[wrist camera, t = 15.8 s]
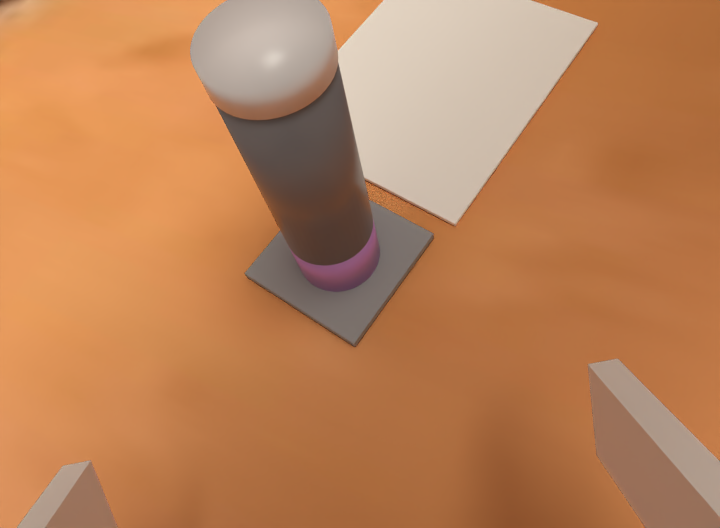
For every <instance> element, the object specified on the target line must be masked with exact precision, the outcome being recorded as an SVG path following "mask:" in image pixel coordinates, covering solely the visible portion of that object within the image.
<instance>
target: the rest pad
mask: <svg viewBox="0 0 720 528" xmlns="http://www.w3.org/2000/svg"><path fill="white" fill-rule="evenodd" d="M369 202H370V206H371V211H372V215H373V220H374V224H375V229H376V233H377V238H378V242H379V248H380V257H379V261H378V265H377V267H376V269H375V271H374V272H373V274H372V275H371V276H370V277H369V278H368V279H367V280H366V281H365V282H363V283H362V284H361V285H359V286H357V287H355V288H353V289H350V290H346V291H340V292H332V291H326V290H322V289H320V288H317V287H316V286H314V285H312V284H311V283H310V282H309V281H308V280H307V279H306V278H305V277H304V275H303V273H302V271H301V269H300V267H299V266H298V264H297V262H296V260H295V258H294V256H293V254H292V252H291V250H290V248H289V246H288V244H287V242H286V240H285V238H284V237H283V235H282V233H281V231H279V233H278V234H277V235H276V236H275V237H274V239H273V240H272V241H271V242H270V244H269V245H268V246H267V247H266V248H265V250H264V251H263V252H262V253H261V254H260V256H259V257H258V258H257V259H256V260H255V262H254V263H253V264H252V265H251V266H250V268H249V269H248V270H247V271H246V272H245V275H246V276H247V278H249V279H251V280H252V281H254V282H255V283H257V284H258V285H260V286H261V287H263V288H264V289H266V290H268V291H269V292H271V293H272V294H274V295H275V296H277V297H278V298H280V299H281V300H283V301H285V302H286V303H288V304H289V305H291V306H292V307H294V308H295V309H297V310H298V311H300V312H302V313H303V314H305V315H306V316H308V317H309V318H311V319H312V320H314V321H315V322H317V323H319V324H320V325H322V326H323V327H325V328H326V329H328V330H329V331H331V332H332V333H334V334H336V335H337V336H339V337H340V338H342V339H343V340H345V341H346V342H348V343H350V344H351V345H353V346H354V347H356V345H357V344H358V343H359V341H360V340H361V338H362V337H363V336H364V334H365V333H366V331H367V330H368V329H369V327H370V326H371V324H372V323H373V322H374V320H375V319H376V318H377V316H378V315H379V313H380V312H381V311H382V309H383V308H384V306H385V305H386V304H387V302H388V301H389V299H390V298H391V297H392V295H393V294H394V293H395V291H396V290H397V288H398V287H399V286H400V284H401V283H402V281H403V280H404V279H405V277H406V276H407V274H408V273H409V272H410V270H411V269H412V267H413V266H414V265H415V263H416V262H417V261H418V259H419V258H420V256H421V255H422V254H423V252H424V251H425V249H426V248H427V247H428V245H429V244H430V242H431V241H432V240H433V238H434V234H433V233H431V232H429V231H428V230H426V229H424V228H422V227H420V226H418V225H416V224H414V223H412V222H411V221H409V220H407V219H405V218H403V217H401V216H399V215H397V214H395V213H393V212H392V211H390V210H388V209H386V208H384V207H382V206H380V205H378V204H376V203H375V202H373V201H371V200H369Z"/></svg>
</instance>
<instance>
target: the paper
mask: <svg viewBox="0 0 720 528" xmlns="http://www.w3.org/2000/svg"><path fill="white" fill-rule="evenodd" d="M597 26H598V23H597V22H594V21H591V20H588V19H585V18H582V17H579V16H576V15H573V14H570V13H567V12H564V11H561V10H558V9H555V8H552V7H549V6H546V5H543V4H540V3H537V2H534V1H531V0H384V1H383V2H382V3H381V4H380V5H379V6H378V7H377V8H376V9H375V10H374V12H373V13H372V14H371V15H370V16H369V17H368V18H367V19H366V20H365V22H364V23H363V24H362V25H361V26H360V27H359V28H358V29H357V30H356V31H355V33H354V34H353V35H352V36H351V37H350V38H349V39H348V40H347V41H346V42H345V44H344V45H343V46H342V47H341V48H340V49H339V50H338V63H339V67H340V72H341V76H342V81H343V85H344V90H345V94H346V99H347V103H348V108H349V112H350V117H351V121H352V126H353V130H354V135H355V139H356V144H357V148H358V153H359V157H360V162H361V166H362V171H363V175H364V180H366V181H368V182H370V183H372V184H374V185H376V186H378V187H380V188H382V189H384V190H386V191H387V192H389V193H391V194H393V195H395V196H397V197H399V198H401V199H403V200H405V201H407V202H409V203H411V204H413V205H415V206H417V207H419V208H421V209H422V210H424V211H426V212H428V213H430V214H432V215H434V216H436V217H438V218H440V219H442V220H444V221H446V222H448V223H450V224H452V225H454V226H456V225H457V223H458V222H459V221H460V219H461V218H462V216H463V215H464V213H465V212H466V211H467V209H468V208H469V206H470V205H471V204H472V202H473V201H474V199H475V198H476V197H477V195H478V194H479V192H480V191H481V190H482V188H483V187H484V185H485V184H486V182H487V181H488V180H489V178H490V177H491V175H492V174H493V173H494V171H495V170H496V168H497V167H498V166H499V164H500V163H501V161H502V160H503V159H504V157H505V156H506V154H507V153H508V151H509V150H510V149H511V147H512V146H513V144H514V143H515V142H516V140H517V139H518V137H519V136H520V135H521V133H522V132H523V130H524V129H525V128H526V126H527V125H528V123H529V122H530V120H531V119H532V118H533V116H534V115H535V113H536V112H537V111H538V109H539V108H540V106H541V105H542V104H543V102H544V101H545V99H546V98H547V97H548V95H549V94H550V92H551V91H552V90H553V88H554V87H555V85H556V84H557V82H558V81H559V80H560V78H561V77H562V75H563V74H564V73H565V71H566V70H567V68H568V67H569V66H570V64H571V63H572V61H573V60H574V59H575V57H576V56H577V54H578V53H579V51H580V50H581V49H582V47H583V46H584V44H585V43H586V42H587V40H588V39H589V37H590V36H591V35H592V33H593V32H594V30H595V29H596V28H597Z"/></svg>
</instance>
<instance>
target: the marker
mask: <svg viewBox="0 0 720 528" xmlns="http://www.w3.org/2000/svg"><path fill="white" fill-rule="evenodd" d="M190 55H191V61H192V64H193V67H194V68H195V70H196V72H197V74H198V76H199V78H200V80H201V82H202V84H203V86H204V88H205V90H206V92H207V93H208V95H209V97H210V99H211V100H212V101H213V103H214V104H215V105H216V107H217V109H218V111H219V113H220V115H221V116H222V118H223V120H224V122H225V124H226V126H227V128H228V130H229V132H230V134H231V136H232V138H233V140H234V142H235V144H236V146H237V147H238V149H239V151H240V153H241V155H242V157H243V159H244V161H245V163H246V165H247V167H248V169H249V171H250V173H251V175H252V176H253V178H254V180H255V182H256V184H257V186H258V188H259V190H260V192H261V194H262V196H263V198H264V200H265V202H266V204H267V206H268V207H269V209H270V211H271V213H272V215H273V217H274V219H275V221H276V223H277V225H278V227H279V229H280V231H281V233H282V235H283V237H284V238H285V240H286V242H287V244H288V246H289V248H290V250H291V252H292V254H293V256H294V258H295V260H296V262H297V264H298V266H299V267H300V269H301V271H302V273H303V275H304V277H305V278H306V279H307V280H308V281H309V282H310V283H311V284H312V285H314V286H316V287H317V288H320V289H322V290H326V291H332V292H340V291H346V290H350V289H353V288H355V287H357V286H359V285H361V284H362V283H363V282H365V281H366V280H367V279H368V278H369V277H370V276H371V275H372V274H373V272H374V271H375V269H376V267H377V265H378V261H379V257H380V248H379V242H378V238H377V233H376V229H375V224H374V220H373V215H372V211H371V206H370V202H369V197H368V193H367V188H366V184H365V180H364V175H363V171H362V166H361V162H360V157H359V153H358V148H357V144H356V139H355V135H354V130H353V126H352V121H351V117H350V112H349V108H348V103H347V99H346V94H345V90H344V85H343V81H342V76H341V72H340V67H339V63H338V50H337V45H336V41H335V36H334V32H333V27H332V23H331V19H330V16H329V13H328V11H327V9H326V8H325V7H324V5H323V4H322V3H321V2H320V1H319V0H227V1H225V2H224V3H222V4H221V5H219V6H218V7H216V8H215V9H214V10H213V11H212V12H210V13H209V14H208V15H207V16H206V17H205V18H204V20H203V21H202V22H201V23H200V25H199V26H198V28H197V30H196V32H195V33H194V36H193V39H192V42H191V48H190Z"/></svg>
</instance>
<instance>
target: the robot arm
mask: <svg viewBox="0 0 720 528" xmlns="http://www.w3.org/2000/svg"><path fill="white" fill-rule="evenodd" d="M588 373H589V383H590V393H591V404H592V414H593V424H594V434H595V445H596V455H597V457H598V458H599V460H600V461H601V463H602V464H603V466H604V467H605V469H606V470H607V472H608V473H609V475H610V476H611V477H612V479H613V480H614V482H615V483H616V485H617V486H618V488H619V489H620V491H621V492H622V494H623V495H624V497H625V498H626V500H627V501H628V503H629V504H630V506H631V507H632V509H633V510H634V512H635V513H636V514H637V516H638V517H639V519H640V520H641V522H642V523H643V525H644V526H645V528H720V461H719V460H718V459H717V458H716V457H715V456H714V455H713V454H712V453H711V452H710V451H709V450H708V449H707V448H706V447H705V446H704V445H703V444H702V443H701V442H700V441H699V440H698V439H697V438H696V437H695V436H694V435H693V434H692V433H691V432H690V431H689V430H688V429H687V428H686V427H685V426H684V425H683V424H682V423H681V422H680V421H679V420H678V419H677V418H676V417H675V416H674V415H673V414H672V413H671V412H670V411H669V410H668V409H667V408H666V407H665V406H664V405H663V404H662V403H661V402H660V401H659V400H658V399H657V398H656V397H655V396H654V395H653V394H652V393H651V392H650V391H649V390H648V389H647V388H646V387H645V386H644V385H643V384H642V383H641V382H640V381H639V379H638V378H637V377H636V376H635V375H634V374H633V373H632V372H631V371H630V370H629V369H628V368H627V367H626V366H625V365H624V364H623V363H622V362H621V361H620V360H619V359H613V360H608V361H602V362H597V363H592V364H588ZM17 528H118V526H117V524H116V521H115V519H114V517H113V514H112V512H111V509H110V507H109V504H108V502H107V499H106V497H105V494H104V492H103V489H102V487H101V484H100V482H99V479H98V477H97V474H96V472H95V470H94V467H93V465H92V462H91V460H90V461H85V462H80V463H75V464H70V465H64V466H62V468H61V469H60V470H59V472H58V473H57V474H56V476H55V477H54V478H53V480H52V481H51V482H50V484H49V485H48V486H47V488H46V489H45V490H44V492H43V493H42V494H41V496H40V497H39V498H38V500H37V501H36V502H35V504H34V505H33V506H32V508H31V509H30V510H29V512H28V513H27V515H26V516H25V517H24V519H23V520H22V521H21V523H20V524H19V525H18V527H17Z"/></svg>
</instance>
